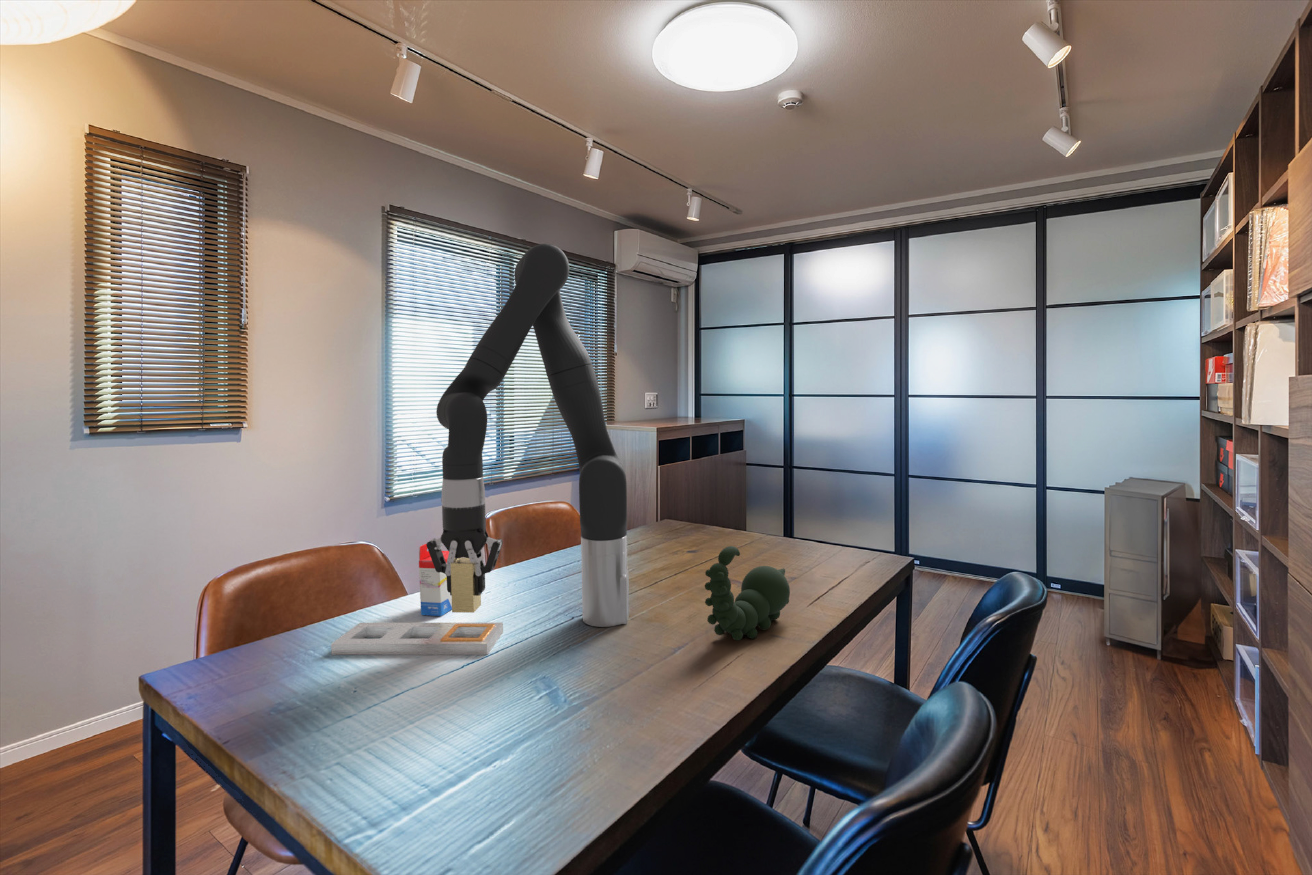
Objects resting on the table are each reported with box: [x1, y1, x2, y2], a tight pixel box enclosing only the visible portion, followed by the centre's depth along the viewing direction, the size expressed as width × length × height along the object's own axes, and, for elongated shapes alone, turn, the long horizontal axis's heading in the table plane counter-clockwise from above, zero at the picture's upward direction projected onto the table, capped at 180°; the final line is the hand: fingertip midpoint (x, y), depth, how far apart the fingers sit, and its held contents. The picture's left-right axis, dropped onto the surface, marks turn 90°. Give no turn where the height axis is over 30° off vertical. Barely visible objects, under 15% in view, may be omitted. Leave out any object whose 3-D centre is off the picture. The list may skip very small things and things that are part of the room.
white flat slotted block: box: [330, 622, 504, 656], centre depth 114 cm, size 28×10×2 cm, turn 88°
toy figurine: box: [704, 545, 791, 641], centre depth 118 cm, size 9×19×25 cm
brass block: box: [451, 557, 482, 614], centre depth 113 cm, size 4×4×9 cm
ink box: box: [418, 542, 452, 617], centre depth 131 cm, size 8×5×15 cm, turn 168°
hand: (466, 593), depth 113 cm, fingers closed on brass block, 4 cm apart
